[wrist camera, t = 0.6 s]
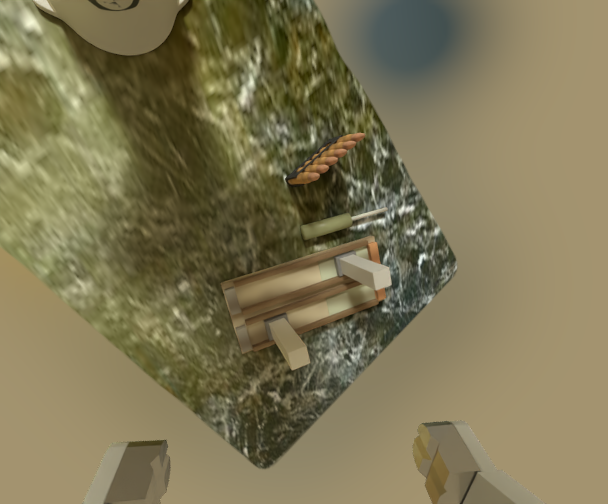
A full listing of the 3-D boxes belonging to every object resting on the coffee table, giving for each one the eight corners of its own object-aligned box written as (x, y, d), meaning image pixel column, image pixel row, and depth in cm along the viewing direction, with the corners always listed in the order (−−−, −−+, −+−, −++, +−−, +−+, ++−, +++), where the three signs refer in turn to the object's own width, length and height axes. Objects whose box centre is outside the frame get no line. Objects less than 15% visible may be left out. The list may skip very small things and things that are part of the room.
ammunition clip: (291, 187, 54) (318, 186, 43) (284, 178, 53) (309, 175, 42) (335, 147, 56) (372, 136, 44) (329, 139, 55) (365, 124, 44)
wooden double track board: (220, 282, 53) (221, 286, 50) (370, 235, 61) (377, 237, 58) (241, 350, 56) (243, 357, 54) (381, 297, 64) (388, 301, 62)
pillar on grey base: (333, 256, 57) (368, 271, 46) (353, 250, 58) (392, 263, 47) (337, 275, 58) (372, 294, 47) (356, 268, 59) (395, 285, 48)
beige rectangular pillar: (263, 320, 55) (282, 352, 43) (285, 312, 56) (309, 341, 45) (268, 338, 55) (288, 374, 44) (289, 330, 57) (314, 363, 45)
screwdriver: (301, 238, 56) (307, 241, 54) (298, 224, 56) (304, 227, 53) (382, 214, 61) (390, 216, 59) (381, 201, 60) (389, 203, 58)
